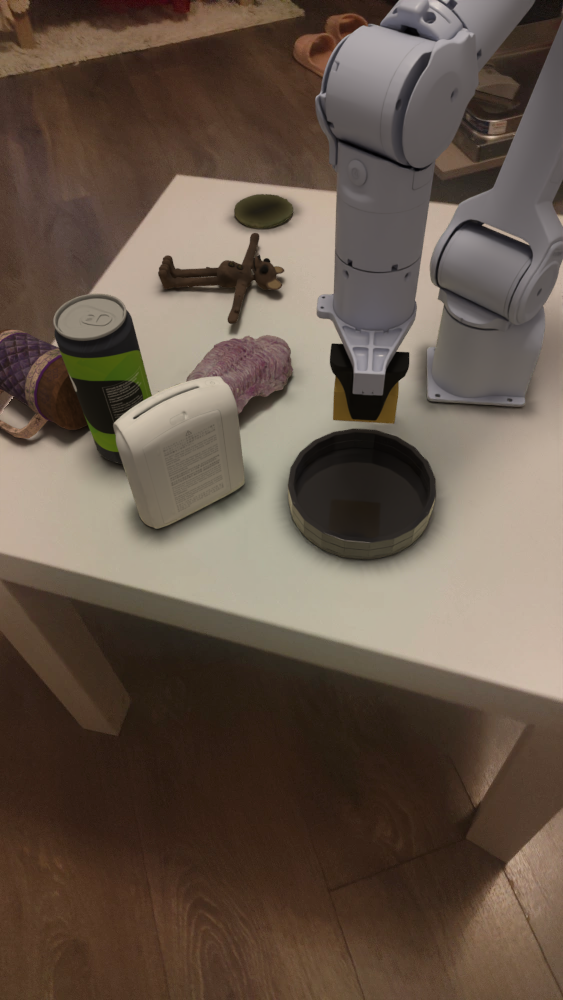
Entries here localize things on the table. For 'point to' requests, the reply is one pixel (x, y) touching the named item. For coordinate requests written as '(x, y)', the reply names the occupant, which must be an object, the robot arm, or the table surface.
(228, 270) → the bear figurine
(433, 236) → the table surface
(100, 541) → the table surface
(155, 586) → the table surface
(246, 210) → the olive green flat disc
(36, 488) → the table surface
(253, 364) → the fossil
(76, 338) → the beverage can
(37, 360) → the mug
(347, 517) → the pan
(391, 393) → the cheese
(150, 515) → the photo printer
